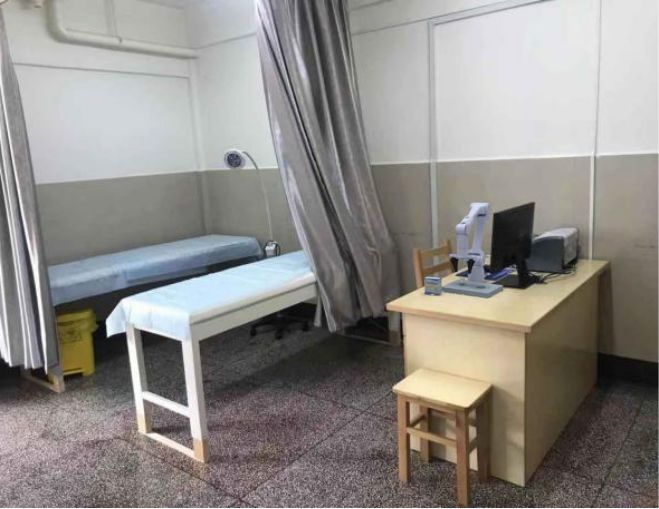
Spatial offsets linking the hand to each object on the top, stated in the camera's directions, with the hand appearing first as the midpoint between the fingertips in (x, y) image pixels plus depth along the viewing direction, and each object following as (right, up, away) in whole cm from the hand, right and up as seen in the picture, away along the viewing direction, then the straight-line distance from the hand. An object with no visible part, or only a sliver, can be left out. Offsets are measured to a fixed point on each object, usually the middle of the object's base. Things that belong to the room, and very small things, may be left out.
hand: (462, 272), depth 285 cm
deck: (+4, -9, -2) cm, 10 cm away
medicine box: (-16, -11, -4) cm, 20 cm away
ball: (0, -5, +1) cm, 5 cm away
